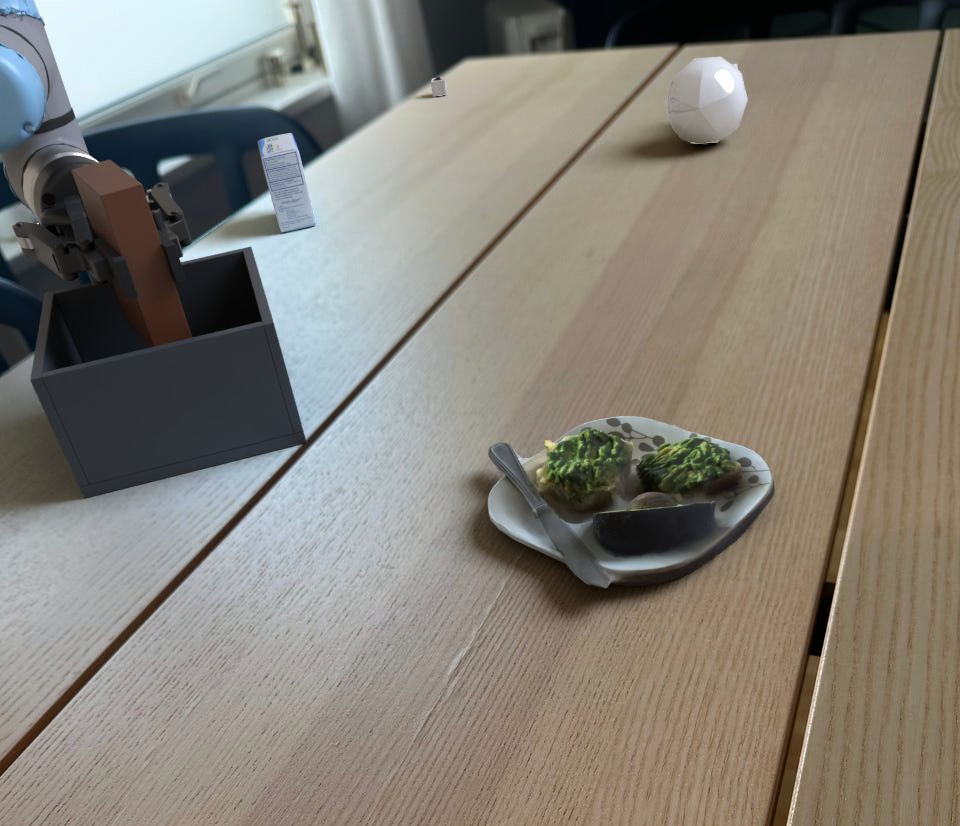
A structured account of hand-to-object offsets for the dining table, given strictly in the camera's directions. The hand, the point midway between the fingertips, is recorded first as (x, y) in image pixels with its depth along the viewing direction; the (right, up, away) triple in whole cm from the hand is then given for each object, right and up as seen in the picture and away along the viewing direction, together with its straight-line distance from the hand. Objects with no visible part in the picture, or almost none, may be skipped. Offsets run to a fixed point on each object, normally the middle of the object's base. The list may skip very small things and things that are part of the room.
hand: (151, 271), depth 73 cm
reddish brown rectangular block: (-2, -2, +8) cm, 8 cm away
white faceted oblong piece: (+52, +36, +53) cm, 83 cm away
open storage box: (-1, -8, +13) cm, 15 cm away
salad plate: (+34, -18, -5) cm, 38 cm away
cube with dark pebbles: (+17, +59, +87) cm, 106 cm away
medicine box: (+1, +24, +49) cm, 55 cm away
